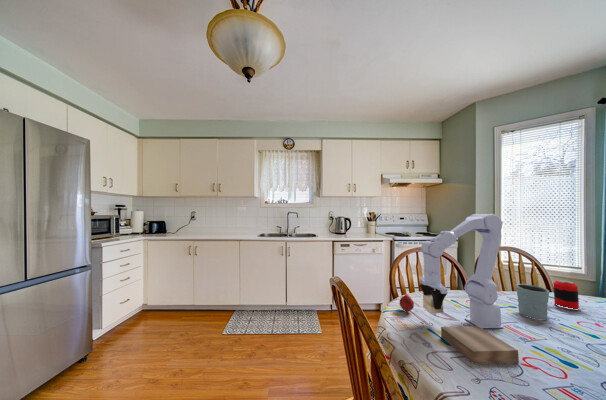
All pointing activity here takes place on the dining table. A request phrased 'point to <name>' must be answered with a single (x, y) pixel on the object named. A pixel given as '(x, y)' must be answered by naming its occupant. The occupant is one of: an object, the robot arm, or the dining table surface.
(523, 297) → the green plant pot
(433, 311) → the beech cube
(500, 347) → the walnut block
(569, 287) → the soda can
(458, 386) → the dining table surface
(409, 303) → the pomegranate
